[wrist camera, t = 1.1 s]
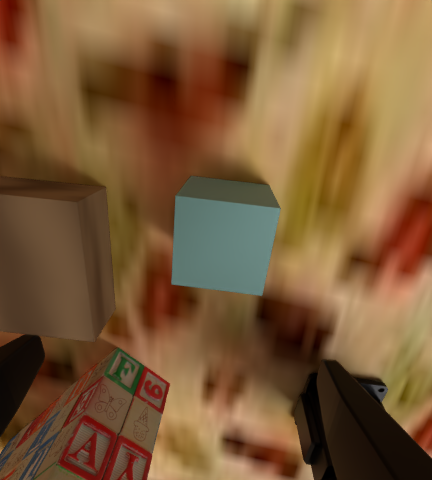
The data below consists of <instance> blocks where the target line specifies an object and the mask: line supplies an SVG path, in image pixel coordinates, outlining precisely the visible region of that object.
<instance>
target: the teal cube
mask: <svg viewBox="0 0 432 480" xmlns="http://www.w3.org/2000/svg"><path fill="white" fill-rule="evenodd" d="M280 209H281V208H280V206H279V204H278V202H277V200H276V198H275V196H274V194H273V192H272V190H271V188H270V186H269V185H264V184H256V183H247V182H239V181H231V180H223V179H214V178H206V177H198V176H190V178H189V179H188V180H187V182H186V183H185V184H184V185H183V187H182V188H181V189H180V191H179V192H178V193H177V194H176V196H175V218H174V240H173V262H172V284H173V285H181V286H189V287H197V288H205V289H213V290H220V291H228V292H236V293H244V294H252V295H260V296H262V294H263V289H264V285H265V280H266V275H267V270H268V266H269V261H270V256H271V251H272V247H273V242H274V237H275V233H276V228H277V223H278V218H279V214H280Z"/></svg>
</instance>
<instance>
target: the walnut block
mask: <svg viewBox="0 0 432 480" xmlns="http://www.w3.org/2000/svg"><path fill="white" fill-rule="evenodd" d="M115 309H116V307H115V294H114V282H113V269H112V257H111V244H110V231H109V219H108V206H107V193H106V187H100V186H90V185H81V184H71V183H61V182H51V181H41V180H32V179H22V178H12V177H2V176H0V331H3V332H12V333H20V334H31V335H38V336H46V337H55V338H63V339H72V340H80V341H89V342H95V341H96V339H97V337H98V336H99V334H100V333H101V331H102V330H103V328H104V326H105V325H106V323H107V322H108V320H109V319H110V317H111V315H112V314H113V312H114V311H115Z"/></svg>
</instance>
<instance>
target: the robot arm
mask: <svg viewBox="0 0 432 480" xmlns="http://www.w3.org/2000/svg"><path fill="white" fill-rule="evenodd" d="M44 358H45V352H44V348H43V345H42V341H41V338H40V337H39V336H38V335H31V334H25V335H23V336H21V337H19V338H17V339H15V340H13V341H11V342H9V343H7V344H5V345H4V346H2V347H0V437H1V435H2V434H3V432H4V431H5V429H6V428H7V426H8V424H9V423H10V421H11V420H12V418H13V417H14V415H15V413H16V412H17V410H18V408H19V407H20V405H21V403H22V401H23V399H24V398H25V396H26V394H27V392H28V390H29V388H30V386H31V384H32V382H33V380H34V379H35V377H36V375H37V373H38V371H39V369H40V367H41V365H42V363H43V361H44ZM387 391H388V389H387V387H386V385H385V383H383V382H378V381H371V380H363V379H356V378H353V377H352V376H351V375H350V374H349V373H348V372H347V371H346V370H345V369H344V368H343V367H342V365H341V364H340V363H339V362H337V361H336V360H327V359H324V360H322V361H321V364H320V368H319V372H318V373H313V374H310V375H309V377H308V380H307V383H306V386H305V389H304V392H303V393H302V394H301V395H300V397H299V400H298V403H297V406H296V409H295V412H294V414H295V418H294V420H295V424H296V425H297V429H298V434H299V439H300V445H301V450H302V455H303V460H304V461H305V463H306V464H308V465H311V467H312V472H313V477H314V480H432V458H431V457H430V456H429V455H428V454H427V453H426V452H425V451H424V450H423V449H422V448H421V447H420V446H419V445H418V444H417V443H416V442H415V441H414V440H413V439H412V438H411V436H410V435H409V434H408V433H407V432H406V431H405V430H404V429H403V428H402V427H401V426H400V425H399V424H398V423H397V422H396V421H395V420H394V419H393V418H392V417H391V416H390V415H389V414H388V413H387V412H386V410H385V408H384V406H383V404H382V400H383V398H384V397H385V395H386V393H387Z"/></svg>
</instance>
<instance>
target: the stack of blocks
mask: <svg viewBox="0 0 432 480" xmlns="http://www.w3.org/2000/svg"><path fill="white" fill-rule="evenodd" d="M169 387H170V384H169V383H168V382H167V381H165V380H164V379H162V378H161V377H160V376H158V375H157V374H155V373H154V372H153V371H151V370H150V369H148V368H147V367H145V366H143V365H142V364H141V363H139V362H138V361H136V360H135V359H134V358H132V357H131V356H130V355H128V354H127V353H125V352H124V351H123V350H121V349H120V348H116V349H115V350H114V351H112V352H111V353H110V354H109V355H108V356H107V357H105V358H104V359H103V360H102V361H101V362H100V363H97V364H96V365H95V366H94V367H92V368H91V369H90V370H89V371H88V372H87V373H86V374H84V375H83V376H82V377H81V378H80V379H79V380H77V381H76V382H75V383H74V384H73V385H71V386H70V387H69V388H68V389H67V390H66V391H65V392H64V393H63V394H62V396H61V397H60V398H58V399H57V400H56V401H55V402H54V403H53V404H51V405H50V406H49V408H48V409H47V410H45V411H44V412H43V413H42V414H41V415H40V416H38V417H37V418H36V419H35V420H32V421H31V422H30V423H29V424H28V425H27V426H25V427H24V428H23V429H22V430H21V431H20V432H19V433H18V434H17V435H15V436H14V437H13V438H12V439H11V440H10V441H9V442H8V443H7V445H6V446H5V448H4V449H3V450H2V452H1V453H0V480H147V477H148V473H149V469H150V464H151V460H152V453H153V449H154V445H155V440H156V436H157V432H158V428H159V425H160V420H161V416H162V414H163V410H164V407H165V402H166V398H167V394H168V391H169Z"/></svg>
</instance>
